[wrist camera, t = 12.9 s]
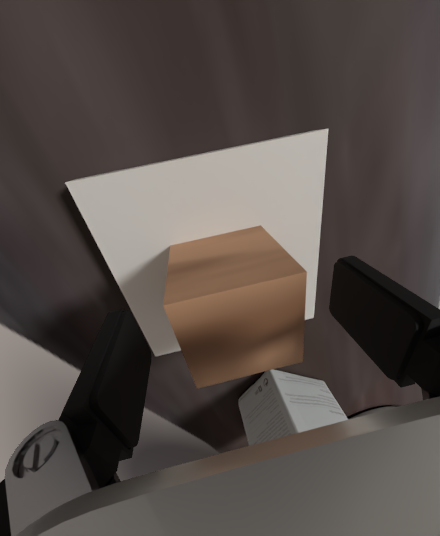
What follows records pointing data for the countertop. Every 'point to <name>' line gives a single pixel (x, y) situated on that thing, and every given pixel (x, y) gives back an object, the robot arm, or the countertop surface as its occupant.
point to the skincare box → (286, 406)
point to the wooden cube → (235, 305)
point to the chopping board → (203, 214)
